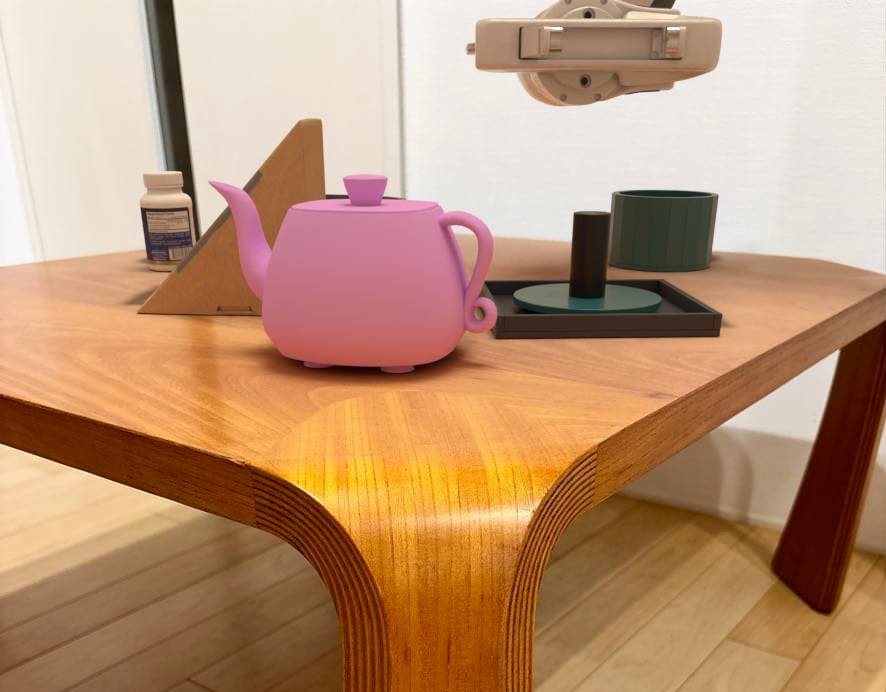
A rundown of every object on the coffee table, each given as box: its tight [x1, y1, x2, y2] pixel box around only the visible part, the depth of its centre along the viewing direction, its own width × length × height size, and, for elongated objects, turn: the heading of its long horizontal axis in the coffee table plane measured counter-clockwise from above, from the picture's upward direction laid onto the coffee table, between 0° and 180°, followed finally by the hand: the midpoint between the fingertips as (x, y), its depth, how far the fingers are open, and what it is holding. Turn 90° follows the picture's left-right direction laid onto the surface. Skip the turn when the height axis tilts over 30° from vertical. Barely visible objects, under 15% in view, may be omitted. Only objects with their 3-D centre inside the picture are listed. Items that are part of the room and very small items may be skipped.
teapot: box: [207, 173, 497, 374], centre depth 61 cm, size 20×13×12 cm, turn 76°
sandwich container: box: [136, 117, 327, 316], centre depth 77 cm, size 9×15×15 cm, turn 86°
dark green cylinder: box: [607, 189, 720, 273], centre depth 102 cm, size 11×11×8 cm
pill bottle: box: [139, 170, 198, 272], centre depth 98 cm, size 5×5×10 cm
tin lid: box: [513, 210, 662, 314], centre depth 75 cm, size 12×12×8 cm
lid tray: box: [478, 278, 723, 339], centre depth 76 cm, size 17×16×2 cm
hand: (614, 39), depth 69 cm, fingers open, 8 cm apart
